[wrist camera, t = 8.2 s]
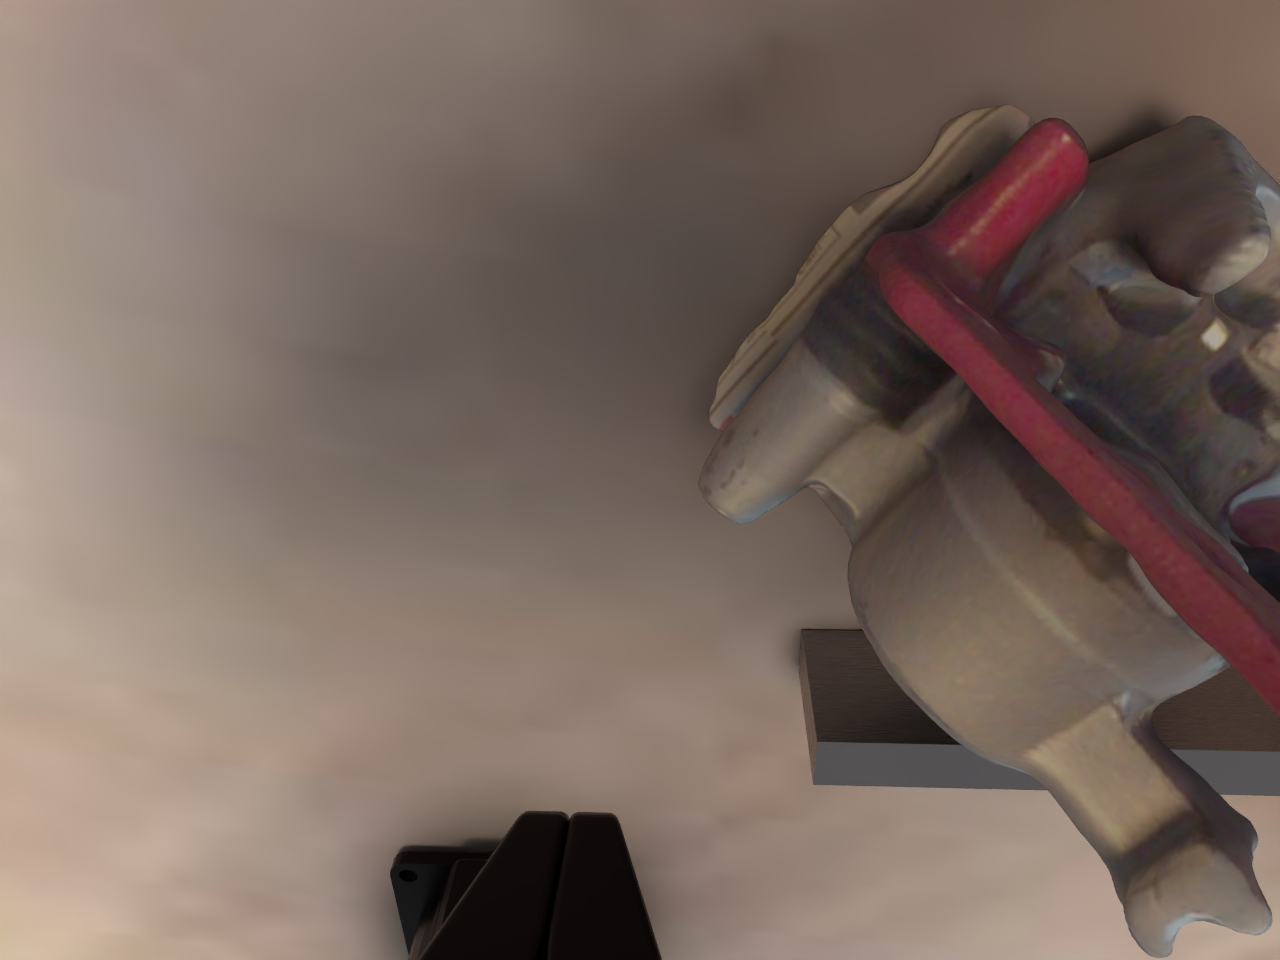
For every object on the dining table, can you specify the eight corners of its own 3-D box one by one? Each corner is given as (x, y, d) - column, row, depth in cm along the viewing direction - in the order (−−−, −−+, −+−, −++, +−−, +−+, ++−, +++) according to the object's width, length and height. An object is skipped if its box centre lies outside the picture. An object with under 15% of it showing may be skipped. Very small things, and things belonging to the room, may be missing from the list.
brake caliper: (1688, 327, 15) (1744, 1169, 10) (1096, 484, 25) (970, 961, 20) (1233, -200, 12) (989, 618, 7) (757, 208, 22) (506, 686, 17)
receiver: (1426, 680, 22) (1541, 802, 19) (798, 670, 23) (813, 784, 20) (1864, -196, 14) (2189, -227, 11) (859, -162, 15) (900, -182, 12)
